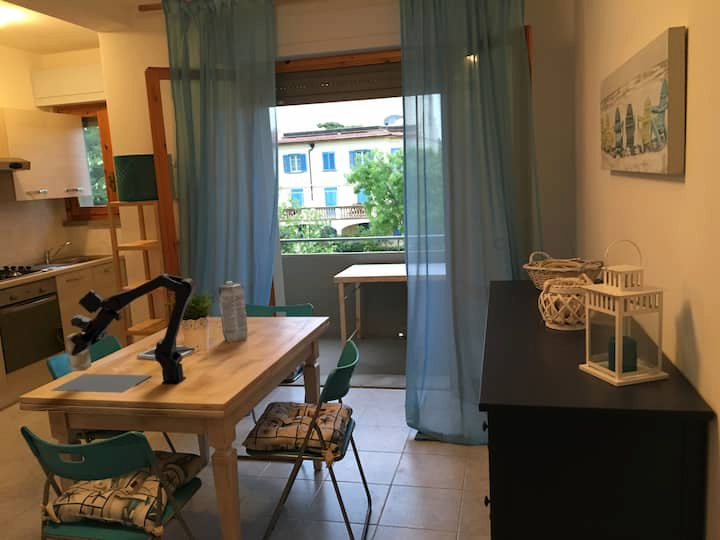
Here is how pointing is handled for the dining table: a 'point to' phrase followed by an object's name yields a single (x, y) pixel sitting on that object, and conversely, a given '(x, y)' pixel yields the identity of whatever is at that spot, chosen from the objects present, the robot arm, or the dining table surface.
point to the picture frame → (180, 349)
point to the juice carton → (233, 311)
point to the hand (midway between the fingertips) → (75, 353)
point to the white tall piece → (78, 357)
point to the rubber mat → (102, 383)
